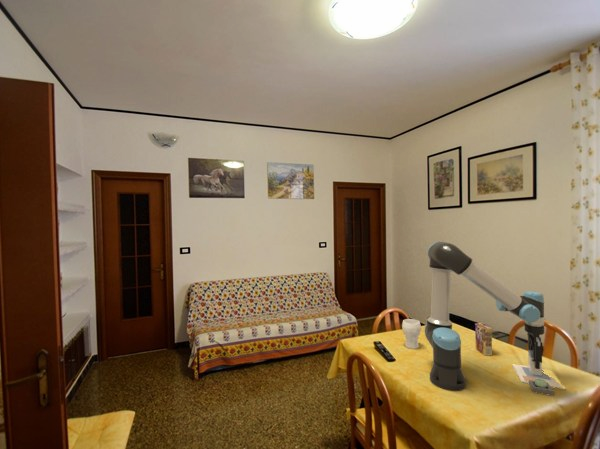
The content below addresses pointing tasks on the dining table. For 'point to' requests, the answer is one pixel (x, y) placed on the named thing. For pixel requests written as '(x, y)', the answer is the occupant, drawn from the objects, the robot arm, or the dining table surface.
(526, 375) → the picture card
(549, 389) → the button housing
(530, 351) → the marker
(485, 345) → the candy box
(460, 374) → the robot arm
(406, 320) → the cup
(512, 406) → the dining table surface
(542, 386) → the button
